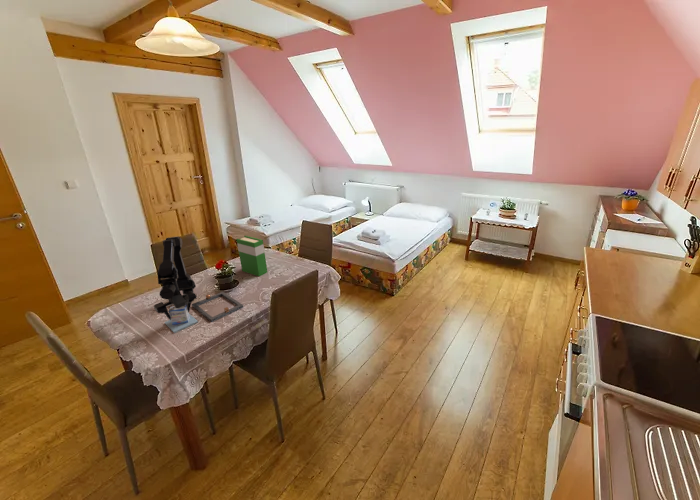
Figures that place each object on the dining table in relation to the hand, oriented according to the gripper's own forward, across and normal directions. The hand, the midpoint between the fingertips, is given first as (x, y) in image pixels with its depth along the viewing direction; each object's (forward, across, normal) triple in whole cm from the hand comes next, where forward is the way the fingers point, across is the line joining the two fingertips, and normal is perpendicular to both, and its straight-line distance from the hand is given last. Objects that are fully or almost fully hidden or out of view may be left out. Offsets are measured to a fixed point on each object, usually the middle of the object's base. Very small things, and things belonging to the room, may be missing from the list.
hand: (179, 315), depth 165 cm
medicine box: (+4, 0, 0) cm, 4 cm away
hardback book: (+5, +59, +24) cm, 64 cm away
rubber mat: (+4, 0, 0) cm, 5 cm away
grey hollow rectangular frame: (+4, +20, 0) cm, 20 cm away
